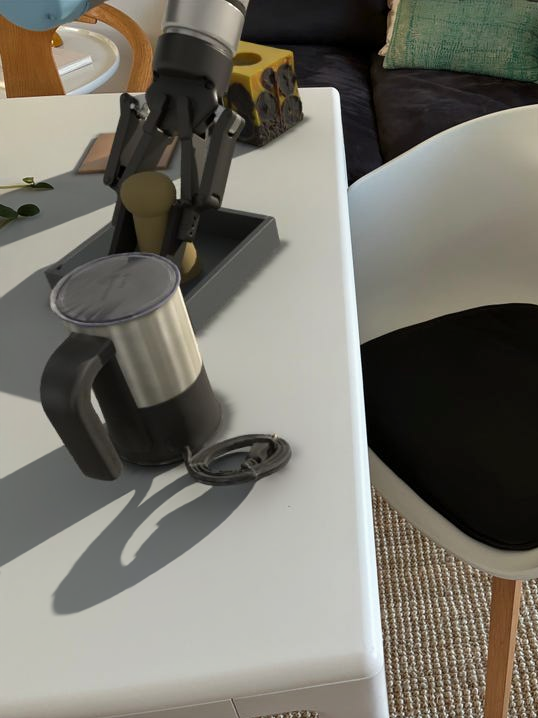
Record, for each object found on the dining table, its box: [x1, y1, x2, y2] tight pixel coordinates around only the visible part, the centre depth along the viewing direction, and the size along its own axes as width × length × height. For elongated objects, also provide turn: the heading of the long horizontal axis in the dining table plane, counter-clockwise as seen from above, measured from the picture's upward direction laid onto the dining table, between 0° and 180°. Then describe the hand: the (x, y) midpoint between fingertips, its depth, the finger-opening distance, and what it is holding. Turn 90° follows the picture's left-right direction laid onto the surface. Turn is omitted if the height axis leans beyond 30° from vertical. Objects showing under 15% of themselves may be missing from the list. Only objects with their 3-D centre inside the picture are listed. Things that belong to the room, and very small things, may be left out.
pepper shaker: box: [120, 170, 202, 285], centre depth 80 cm, size 6×6×11 cm
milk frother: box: [39, 252, 292, 487], centre depth 60 cm, size 14×16×15 cm
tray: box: [43, 198, 282, 335], centre depth 83 cm, size 17×17×4 cm
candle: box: [208, 40, 305, 147], centre depth 108 cm, size 10×10×10 cm
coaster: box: [77, 130, 179, 174], centre depth 105 cm, size 11×11×1 cm
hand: (143, 265), depth 79 cm, fingers closed on pepper shaker, 5 cm apart
